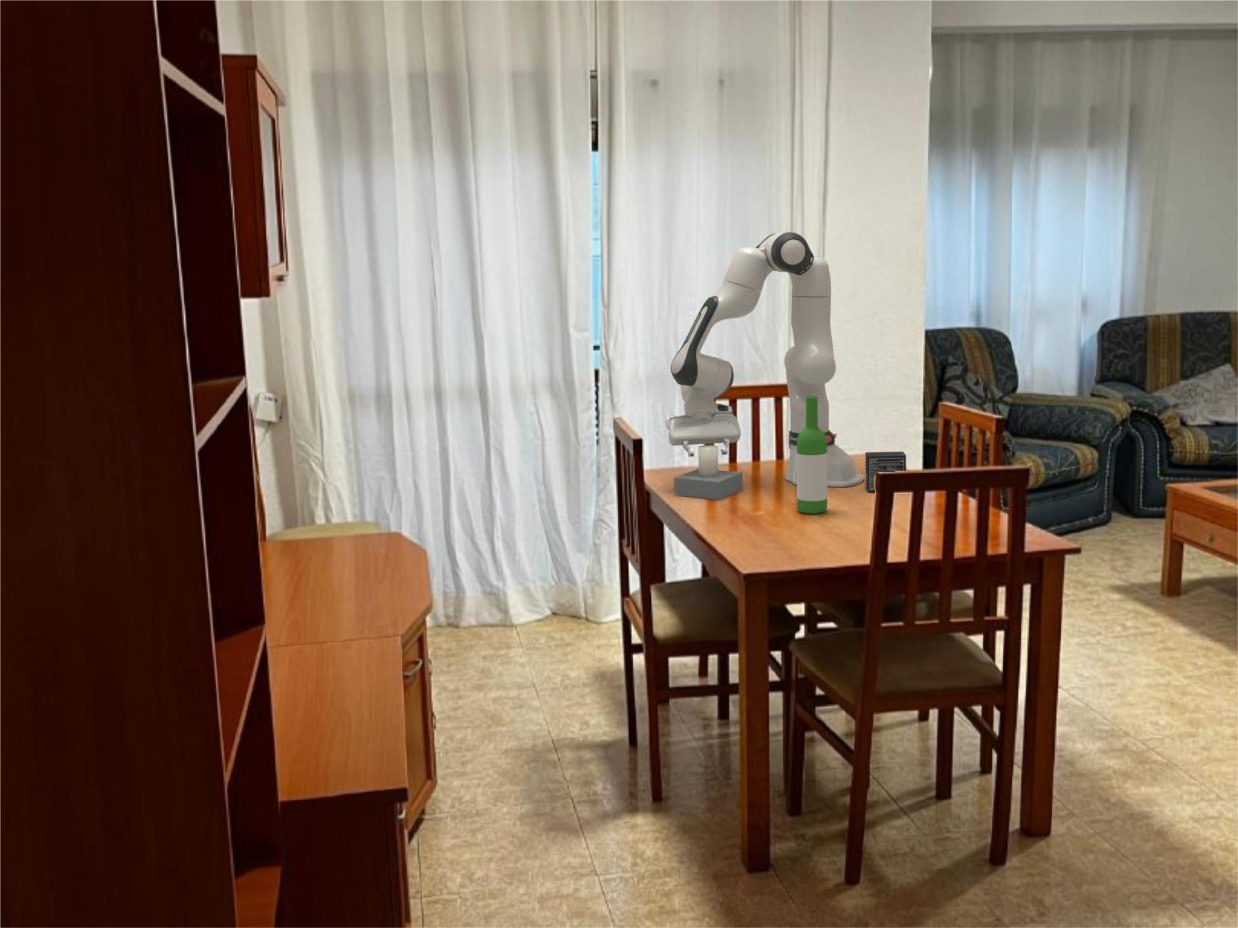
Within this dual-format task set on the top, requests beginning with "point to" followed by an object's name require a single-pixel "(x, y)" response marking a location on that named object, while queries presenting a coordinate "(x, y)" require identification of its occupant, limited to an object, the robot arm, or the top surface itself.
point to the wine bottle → (812, 463)
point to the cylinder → (708, 460)
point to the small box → (882, 465)
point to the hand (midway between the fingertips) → (708, 454)
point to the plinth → (708, 484)
